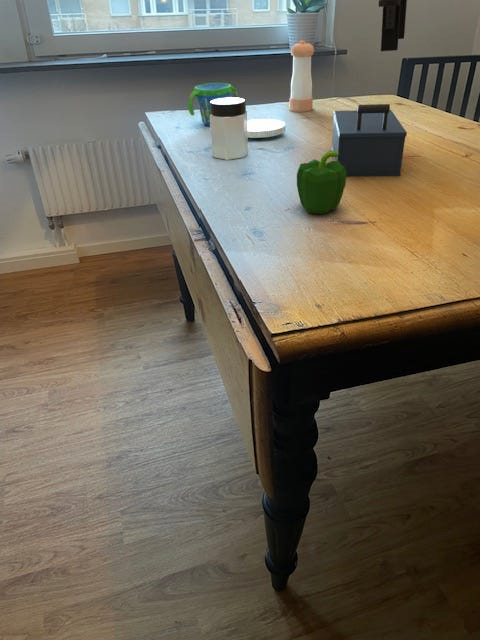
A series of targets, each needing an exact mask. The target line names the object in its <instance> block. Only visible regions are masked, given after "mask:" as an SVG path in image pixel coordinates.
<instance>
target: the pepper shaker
mask: <svg viewBox="0 0 480 640" xmlns="http://www.w3.org/2000/svg"><path fill="white" fill-rule="evenodd" d="M314 53H315V48H314V46H313V45H312V44H311V43H308V42H307V43H306V41H305V40H304V39H302V40H299V43H295V44H294V45H292V46H291V48H290V55H291V56H292V73H291V75H292V76H291V81H290V97H289V107H288V108H289V109H288V110H289V111H290V112H294V113H295V112H296V113H304V112H310V111H312V110H313V103H314V97H313V95H312V94H313V80H312V56H313V55H314Z"/></svg>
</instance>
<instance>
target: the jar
mask: <svg viewBox="0 0 480 640" xmlns="http://www.w3.org/2000/svg"><path fill="white" fill-rule="evenodd" d="M210 111H211V115H210V126H209V128H210V141H211V144H210V145H211V155H212V157H213V158H215V159H221V160H225V161H230V160H236V159H244V158H245V157H246V156H247V154H248V153H249V139H248V132H247V120H248V111H247V101H246V99H244V98H241V97H238V98H234V97H230V98H220V99H215V100H212V101H211V102H210Z"/></svg>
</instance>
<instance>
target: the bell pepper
mask: <svg viewBox="0 0 480 640" xmlns="http://www.w3.org/2000/svg"><path fill="white" fill-rule="evenodd" d="M338 154H339V153H338V152H335V151H332V150H331V151H327V152H326V153H324V154H323V155H322V156H321V158H320V160H318V159H311V160H310V161H308V162H305V163H304V162H303V163H300V164H299V167H298V168H297V170H296V188H297V193H298V197H299V201H300V204H301V206H302V208H304V209H305V210H306V211H307V212H308V213H310V214H316V215H320V214H321V215H325V214H327V213H329V212H330V211H332V210H333V211H334V210H336V209H337V208H338V207H339V205H340V203H341V200H342V197H343V194H344V192H345V191H344V190H345V188H346V184H347V176H346V174H347V172H346V170H345V167H344V166H342V165H341V163H340V162H339V161H334V160H331V161H328V162H327V160H328V159H329V158H333V157H335V158H336V157H337V156H338Z"/></svg>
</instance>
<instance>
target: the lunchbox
mask: <svg viewBox="0 0 480 640" xmlns="http://www.w3.org/2000/svg"><path fill="white" fill-rule="evenodd" d="M332 117H333V119H332V136H331V152H332V151H335V152H338V153H339V154H338V156H337V157H336V158H335V157H332V159H333V160H332V161H339V162H340V163H341V165H342V166H344V167H345V170H346V172H347V174H346V177H399V176H401V171H402V165H403V157H404V150H405V142H406V137H347V138H340V137H339V133H338V129H337V125H336V121H335V117H334V116H332Z"/></svg>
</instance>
